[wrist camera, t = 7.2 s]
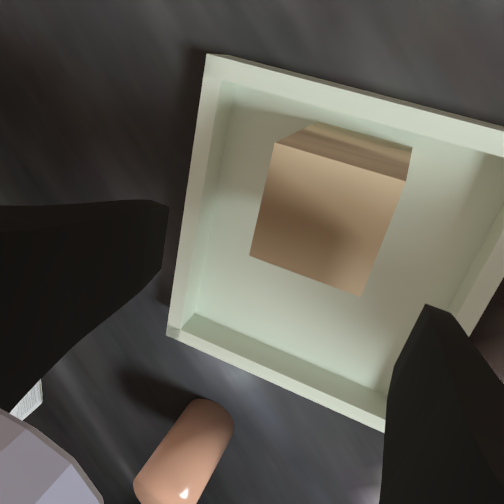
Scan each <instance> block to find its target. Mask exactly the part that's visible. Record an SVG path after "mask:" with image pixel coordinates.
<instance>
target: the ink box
mask: <svg viewBox="0 0 504 504" xmlns="http://www.w3.org/2000/svg"><path fill="white" fill-rule="evenodd" d="M42 401H43V400H42V385H41V379H40V380H39V381H38V382H37V383H36V385H35V386H34V387H33V388H32V389H31V390H30V391H29V392H28V393H27V394H26V395H25V396H24V397H23V398H22V399H21V401H20V402H19V403H18V404H17V405H16V406H15V407H14V408H13V410H12V411H11V412H10V413H9V414H11V415H13V416H15V417H17V418H18V419H20V420H24V419H25V418H26V417H27V416H28V415H29V414H30V413H31V412H33V411H34V410H35V409H36V408H37V407H38V406H39V405H40V404H41V403H42Z"/></svg>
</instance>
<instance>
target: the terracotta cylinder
mask: <svg viewBox="0 0 504 504" xmlns="http://www.w3.org/2000/svg"><path fill="white" fill-rule="evenodd" d="M233 433H234V423H233V420H232V418H231V416H230V415H229V413H228V412H227V411H226V410H225V409H224V408H223V407H222V406H220V405H219V404H217V403H215V402H213V401H211V400H208V399H195V400H193V401H191V402H190V403H189V404H188V405H187V407H186V408H185V409H184V411H183V412H182V414H181V415H180V416H179V418H178V419H177V421H176V422H175V423H174V425H173V426H172V428H171V429H170V430H169V432H168V433H167V435H166V436H165V437H164V439H163V440H162V442H161V443H160V444H159V446H158V447H157V449H156V450H155V451H154V453H153V454H152V456H151V457H150V458H149V460H148V461H147V463H146V464H145V465H144V467H143V468H142V470H141V471H140V472H139V474H138V475H137V477H136V478H135V480H134V483H133V487H134V491H135V494H136V496H137V498H138V499H139V501H140V502H141V504H196V503H197V501H198V499H199V497H200V495H201V493H202V492H203V490H204V488H205V486H206V484H207V482H208V480H209V479H210V477H211V475H212V473H213V471H214V469H215V467H216V465H217V464H218V462H219V460H220V458H221V456H222V454H223V452H224V450H225V449H226V447H227V445H228V443H229V441H230V439H231V437H232V435H233Z"/></svg>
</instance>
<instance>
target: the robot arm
mask: <svg viewBox="0 0 504 504" xmlns="http://www.w3.org/2000/svg"><path fill="white" fill-rule="evenodd" d="M168 213H169V207H168V206H165V205H162V204H160V203H157V202H154V201H152V200H120V201H108V202H95V203H83V204H66V205H47V206H0V504H104V502H103V498H102V496H101V494H100V493H99V492H98V490H97V489H96V487H95V486H94V485H93V483H92V482H91V481H90V479H89V478H88V476H87V475H86V474H85V472H84V471H83V470H82V468H81V467H80V465H79V464H78V463H77V461H76V460H75V459H74V458H73V457H72V456H71V455H69V454H68V453H67V452H65V451H64V450H63V449H62V448H60V447H59V446H58V445H57V444H55V443H54V442H53V441H51V440H50V439H49V438H48V437H46V436H45V435H44V434H42V433H41V432H40V431H39V430H37V429H36V428H34V427H33V426H31V425H29V424H27V423H25V422H24V421H22V420H20V419H18V418H17V417H15V416H13V415H11V414H9V413H10V412H11V411H12V410H13V408H14V407H15V406H16V405H17V404H18V403H19V402H20V401H21V399H22V398H23V397H24V396H25V395H26V394H27V393H28V392H29V391H30V390H31V389H32V388H33V387H34V386H35V385H36V383H37V382H38V381H39V380H40V379H41V378H42V377H43V376H44V375H45V374H46V373H47V372H48V371H49V370H50V369H51V368H52V367H53V366H54V365H55V364H56V363H57V362H58V361H59V360H60V359H61V358H62V357H63V356H64V355H65V354H66V353H67V352H68V351H69V350H70V349H71V348H72V347H73V346H74V345H75V344H76V343H78V342H79V341H80V340H81V339H82V338H83V337H85V336H86V335H87V334H88V333H90V332H91V331H92V330H93V329H95V328H96V327H97V326H98V325H100V324H101V323H102V322H103V321H105V320H106V319H107V318H108V317H110V316H111V315H112V314H113V313H115V312H116V311H117V310H118V309H120V308H121V307H122V306H123V305H125V304H126V303H127V302H128V301H129V300H131V299H132V298H133V297H134V296H135V295H137V294H138V293H139V292H140V291H141V290H142V289H143V288H144V287H145V286H146V285H147V284H148V283H149V282H150V281H151V279H152V278H153V277H154V276H155V275H156V274H157V273H158V271H159V270H160V269H161V265H162V258H163V250H164V243H165V235H166V228H167V221H168ZM379 504H504V384H503V383H502V382H501V380H500V379H499V378H498V376H497V375H496V374H495V373H494V371H493V370H492V369H491V367H490V366H489V365H488V363H487V362H486V361H485V359H484V358H483V356H482V355H481V354H480V352H479V351H478V349H477V348H476V347H475V345H474V344H473V342H472V341H471V339H470V338H469V337H468V335H467V334H466V332H465V331H464V329H463V328H462V327H461V325H460V324H459V322H458V321H457V320H456V318H455V317H454V316H453V315H452V314H451V313H450V312H447V311H445V310H442V309H439V308H437V307H434V306H431V305H429V304H426V303H425V305H424V307H423V309H422V311H421V313H420V315H419V317H418V319H417V321H416V323H415V325H414V327H413V329H412V331H411V333H410V335H409V337H408V339H407V341H406V343H405V345H404V347H403V349H402V351H401V353H400V355H399V357H398V359H397V361H396V363H395V365H394V368H393V372H392V377H391V381H390V386H389V391H388V396H387V405H386V419H385V435H384V451H383V468H382V483H381V492H380V501H379Z"/></svg>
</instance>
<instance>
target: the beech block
mask: <svg viewBox="0 0 504 504" xmlns="http://www.w3.org/2000/svg"><path fill="white" fill-rule="evenodd" d="M412 149H413V147H410V146H406V145H403V144H399V143H395V142H392V141H388V140H385V139H381V138H377V137H374V136H370V135H367V134H363V133H359V132H356V131H352V130H349V129H345V128H341V127H338V126H334V125H331V124H327V123H323V122H320V121H318V122H316V123H314V124H312V125H310V126H308V127H306V128H304V129H302V130H299V131H297V132H295V133H293V134H291V135H289V136H287V137H285V138H283V139H281V140H279V141H277V142H275V143H274V148H273V152H272V157H271V161H270V165H269V170H268V174H267V178H266V183H265V187H264V192H263V196H262V200H261V205H260V209H259V213H258V218H257V222H256V227H255V231H254V235H253V240H252V244H251V248H250V253H249V256H251V257H254V258H257V259H259V260H262V261H265V262H267V263H270V264H273V265H275V266H278V267H281V268H283V269H286V270H289V271H292V272H294V273H297V274H300V275H302V276H305V277H308V278H310V279H313V280H316V281H318V282H321V283H324V284H327V285H329V286H332V287H335V288H337V289H340V290H343V291H345V292H348V293H351V294H353V295H356V296H359V297H361V295H362V293H363V290H364V287H365V285H366V282H367V280H368V277H369V275H370V272H371V270H372V267H373V264H374V262H375V259H376V257H377V254H378V252H379V249H380V247H381V244H382V241H383V239H384V236H385V234H386V231H387V229H388V226H389V224H390V221H391V218H392V216H393V213H394V211H395V208H396V206H397V203H398V201H399V198H400V195H401V193H402V190H403V188H404V185H405V183H406V179H407V174H408V169H409V164H410V159H411V154H412Z"/></svg>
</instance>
